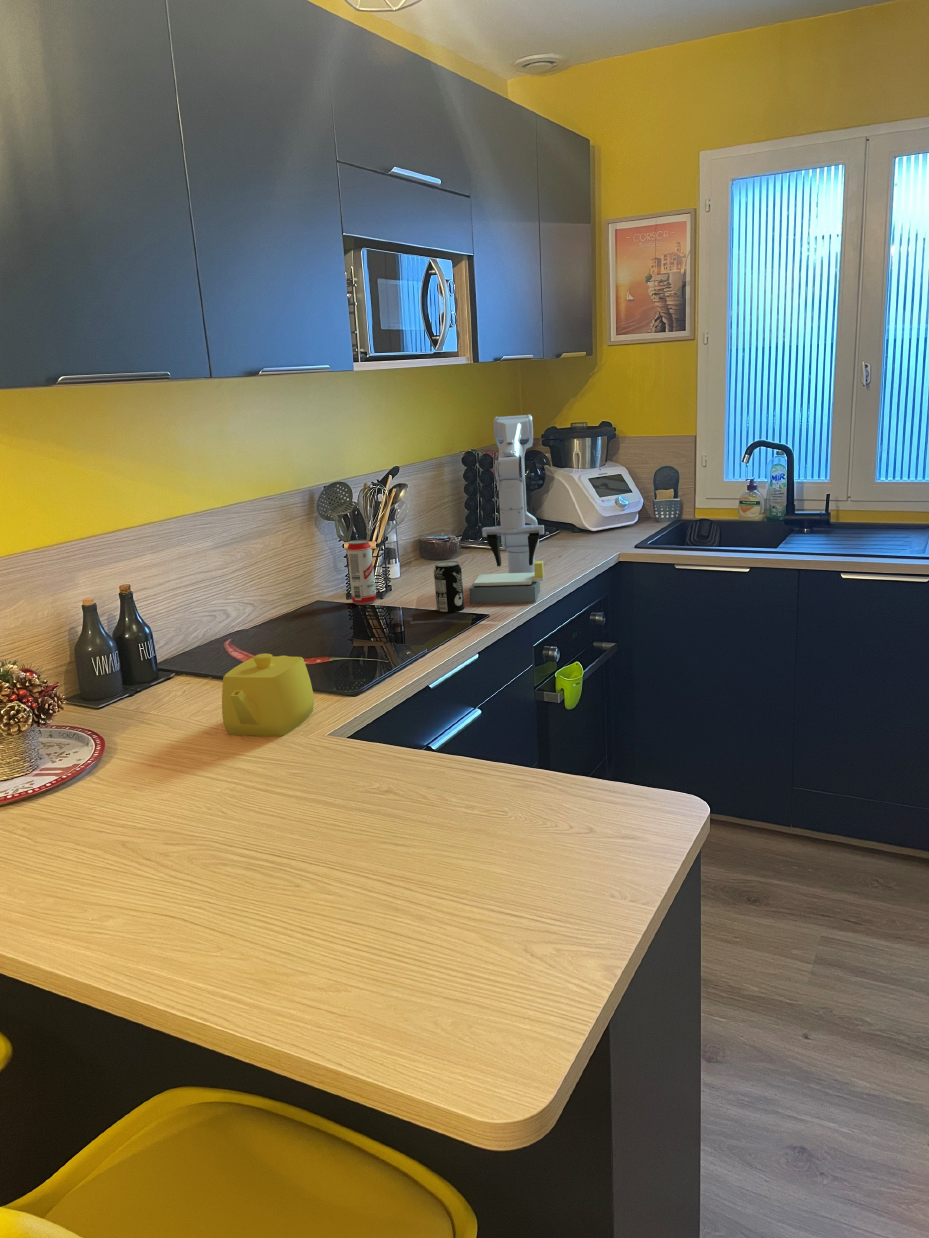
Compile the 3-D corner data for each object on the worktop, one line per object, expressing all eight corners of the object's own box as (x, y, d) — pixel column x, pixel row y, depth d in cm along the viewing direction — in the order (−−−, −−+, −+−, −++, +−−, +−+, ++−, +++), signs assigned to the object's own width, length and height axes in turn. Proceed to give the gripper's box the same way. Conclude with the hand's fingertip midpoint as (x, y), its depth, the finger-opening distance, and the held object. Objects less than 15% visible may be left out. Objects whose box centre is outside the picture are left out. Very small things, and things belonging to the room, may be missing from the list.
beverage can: (465, 608, 220) (462, 559, 217) (463, 614, 214) (459, 565, 211) (439, 609, 221) (435, 561, 218) (435, 616, 215) (431, 566, 212)
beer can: (348, 605, 232) (341, 543, 228) (359, 599, 238) (353, 539, 234) (369, 605, 230) (363, 543, 226) (380, 600, 235) (375, 539, 231)
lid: (480, 577, 231) (479, 560, 230) (545, 575, 228) (544, 558, 226) (473, 586, 221) (472, 568, 220) (541, 584, 218) (540, 566, 217)
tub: (478, 594, 233) (477, 577, 232) (540, 593, 230) (539, 575, 229) (470, 606, 222) (469, 588, 220) (535, 604, 219) (534, 586, 217)
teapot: (275, 749, 141) (265, 677, 138) (204, 746, 144) (194, 675, 141) (326, 704, 159) (319, 640, 156) (263, 702, 163) (254, 639, 160)
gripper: (478, 512, 210) (482, 569, 214) (540, 509, 208) (543, 567, 211) (483, 507, 217) (487, 563, 221) (543, 505, 214) (546, 561, 218)
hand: (515, 565), depth 216 cm, fingers open, 7 cm apart
